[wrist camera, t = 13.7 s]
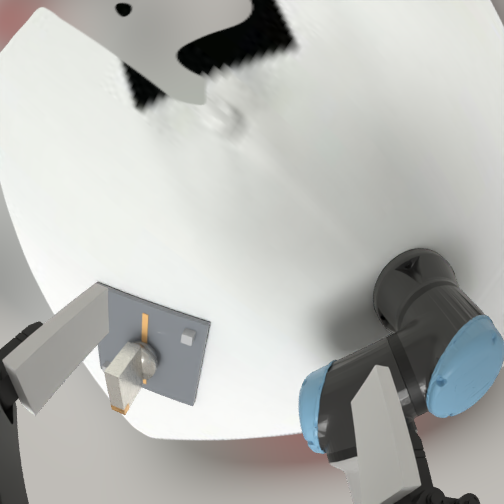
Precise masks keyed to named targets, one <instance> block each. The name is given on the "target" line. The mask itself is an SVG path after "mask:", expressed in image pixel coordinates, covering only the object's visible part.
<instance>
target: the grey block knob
mask: <svg viewBox="0 0 504 504" xmlns="http://www.w3.org/2000/svg"><path fill="white" fill-rule="evenodd" d="M157 368H158V361H157V359H156V357H155V355H154V354H153V353H152V352H151V351H150V350H149V349H148V348H147V347H145V346H143V345H141V344H139V343H134V342H127V343H126V345H125V346H124V347H123V348H122V349H121V351H120V352H119V353H118V354H117V356H116V357H115V358H114V359H113V361H112V362H111V363H110V365H109V366H108V367H107V368H106V370H105V371H104V373H105V378H106V384H107V388H108V393H109V398H110V402H111V407H112V409H113V410H115V411H117V412H119V413H122V414H124V415H125V414H126V413H127V411H128V410H129V407H130V406H131V404H132V402H133V401H134V399H135V398H136V396H137V394H138V393H139V391H140V389H141V388H142V386H143V379H145V380H146V379H150V378H151V377H152V376H153V375H154V373H155V372H156V370H157Z"/></svg>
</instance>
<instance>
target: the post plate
mask: <svg viewBox="0 0 504 504" xmlns="http://www.w3.org/2000/svg"><path fill="white" fill-rule="evenodd" d="M97 284H100V285H102V286H105V287H107V288H108V317H109V333H108V334H107V335H106V336H105V337H104V338H103V339H102V340H101V341H100V342H99V343H98V350H99V358H100V366H101V369H103V372H104V371H105V370H106V368H107V367H108V366H109V365H110V363H111V362H112V361H113V359H114V358H115V357H116V356H117V354H118V353H119V352H120V351H121V349H122V348H123V347H124V346H125V345H126V343H127V342H134V343H139V344H141V345H143V346H145V347H147V348H148V349H149V350H150V351H151V352H152V353H153V354H154V355H155V357H156V359H157V361H158V368H157V370H156V372H155V373H154V375H153V376H152V377H151V378H150V379H146V380H145V379H143V386H142V387H143V388H145V389H147V390H150V391H152V392H155V393H157V394H160V395H163V396H165V397H168V398H171V399H173V400H176V401H179V402H182V403H185V404H188V405H191V406H193V405H194V402H195V397H196V392H197V386H198V381H199V376H200V371H201V366H202V361H203V356H204V351H205V346H206V341H207V336H208V331H209V326H210V322H207V321H204V320H201V319H198V318H195V317H192V316H189V315H186V314H183V313H180V312H177V311H174V310H171V309H168V308H165V307H162V306H159V305H156V304H154V303H151V302H148V301H145V300H143V299H140V298H137V297H134V296H132V295H129V294H126V293H124V292H121V291H119V290H116V289H114V288H111V287H108V286H106V285H103V284H101V283H99V282H97Z"/></svg>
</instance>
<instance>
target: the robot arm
mask: <svg viewBox="0 0 504 504" xmlns="http://www.w3.org/2000/svg"><path fill="white" fill-rule="evenodd" d="M373 302H374V307H375V310H376V313H377V315H378V317H379V319H380V321H381V323H382V324H383V325H384V326H385V327H386V328H387V329H388V330H389V331H391V332H392V333H393V334H392V335H390V336H388V337H386V338H384V339H382V340H380V341H378V342H376V343H374V344H372V345H370V346H368V347H366V348H363V349H361V350H359V351H357V352H355V353H353V354H351V355H349V356H346V357H344V358H342V359H340V360H334V361H332V362H330V363H329V364H328V365H326V366H324V367H322V368H320V369H318V370H316V371H314V372H312V373H310V374H309V375H308V376H307V377H306V378H305V380H304V382H303V384H302V388H301V390H300V394H299V418H300V424H301V429H302V433H303V435H304V438H305V440H307V441H308V446H309V447H310V448H311V450H313V451H314V452H317V453H322V454H324V453H327V456H328V460H329V463H330V465H332V466H334V467H336V468H338V469H340V470H343V472H345V475H346V479H347V482H348V486H349V489H350V493H351V497H352V501H353V504H480V502H479V499H478V498H477V497H476V495H474V494H471V493H467V494H465V495H463V496H462V497H460V498H459V499H456V498H449V497H445V495H444V493H443V492H442V491H441V490H440V489H438V488H436V487H433V484H432V480H431V476H430V472H429V468H428V464H427V460H426V458H425V457H426V456H425V452H424V451H423V445H422V441H421V439H420V437H419V436H418V434H417V428H416V425H415V422H414V418H416V417H417V416H419V415H422V414H424V413H425V412H428V411H429V412H431V413H432V414H433V415H435V416H436V417H441V418H446V417H448V416H449V415H450V416H455V415H457V414H459V413H461V412H463V411H465V410H467V409H468V408H469V407H471V406H472V405H474V404H475V403H476V402H477V401H478V400H479V399H480V398H481V397H482V396H483V395H484V394H485V393H486V392H487V391H488V389H489V388H490V387H491V386H492V384H493V382H494V380H495V379H496V377H497V376H498V374H499V371H500V369H501V367H502V364H503V360H504V341H503V338H502V336H501V334H500V333H499V332H498V330H497V329H496V328H495V326H494V324H493V322H492V320H491V319H490V318H489V317H488V316H486V315H485V314H484V313H483V312H482V311H481V310H480V309H479V307H478V306H477V305H476V304H475V303H474V302H473V301H472V300H471V299H470V298H469V297H468V296H467V295H466V294H465V293H464V292H463V291H462V290H461V289H460V288H459V286H458V283H457V280H456V277H455V274H454V271H453V269H452V267H451V266H450V264H449V263H448V262H447V261H446V260H445V259H444V258H443V257H442V256H441V255H439V254H438V253H436V252H434V251H432V250H428V249H413V250H410V251H407V252H404V253H402V254H400V255H399V256H397V257H396V258H394V259H393V260H392V261H391V262H390V263H389V264H388V265H387V266H386V267H385V268H384V270H383V271H382V272H381V274H380V276H379V278H378V280H377V282H376V285H375V289H374V295H373ZM108 333H109V317H108V288H107V287H105V286H102V285H100V284H97V283H95V284H94V285H92V286H91V287H90V288H88V289H87V290H86V291H84V292H83V293H82V294H81V295H79V296H78V297H77V298H75V299H74V300H73V301H72V302H70V303H69V304H68V305H67V306H65V307H64V308H63V309H62V310H60V311H59V312H58V313H57V314H55V315H54V316H53V317H52V318H50V319H49V320H48V321H47V322H46V323H44V324H42V323H41V322H36V323H34V324H31V325H29V326H28V327H26V328H25V329H24V330H23V331H22V332H21V333H19V334H18V335H17V336H16V338H13V339H12V340H11V341H10V342H9V343H7V344H6V345H5V346H4V347H3V348H1V349H0V504H29V502H28V498H27V494H26V489H25V484H24V478H23V472H22V467H21V459H20V452H19V442H18V429H17V408H16V403H15V401H16V400H17V399H18V398H19V400H20V402H21V404H22V406H23V407H25V408H26V409H27V410H28V411H30V412H31V413H32V414H34V415H37V413H38V412H39V411H40V410H41V409H42V407H43V406H44V405H45V404H46V403H47V401H48V400H49V399H50V398H51V397H52V395H53V394H54V393H55V392H56V391H57V390H58V388H59V387H60V386H61V385H62V384H63V382H65V380H66V379H67V378H68V377H69V376H70V375H71V373H72V372H73V371H74V370H75V369H76V368H77V367H78V366H79V364H80V363H81V362H82V361H83V360H84V359H85V358H86V357H87V356H88V354H89V353H90V352H91V351H92V350H93V349H94V348H95V347H96V346H97V345H98V343H99V342H100V341H101V340H102V339H103V338H104V337H105V336H106V335H107V334H108Z"/></svg>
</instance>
